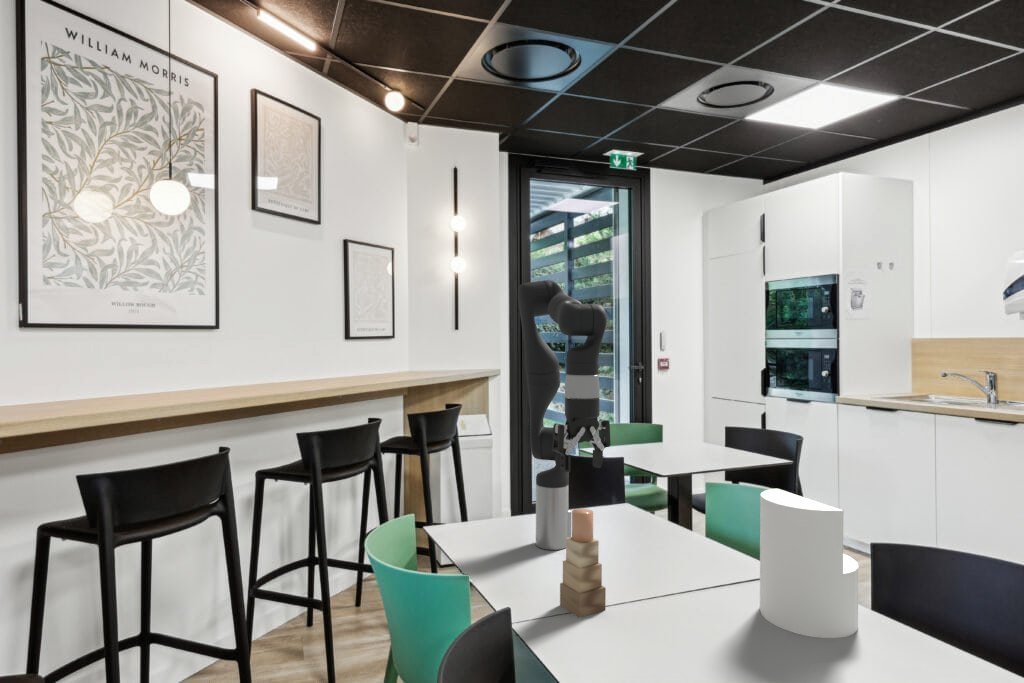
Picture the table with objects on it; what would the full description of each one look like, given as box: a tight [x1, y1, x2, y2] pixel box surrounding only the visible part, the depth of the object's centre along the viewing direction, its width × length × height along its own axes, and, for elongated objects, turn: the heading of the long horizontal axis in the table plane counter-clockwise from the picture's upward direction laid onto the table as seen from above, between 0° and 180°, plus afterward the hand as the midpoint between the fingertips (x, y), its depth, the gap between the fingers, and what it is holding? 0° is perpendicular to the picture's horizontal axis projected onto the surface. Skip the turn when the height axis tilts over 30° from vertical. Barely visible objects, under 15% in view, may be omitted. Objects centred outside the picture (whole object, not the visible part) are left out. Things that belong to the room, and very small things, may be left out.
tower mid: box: [562, 559, 603, 593], centre depth 135 cm, size 6×6×5 cm
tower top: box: [565, 536, 600, 568], centre depth 135 cm, size 5×5×5 cm
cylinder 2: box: [759, 488, 859, 639], centre depth 131 cm, size 19×19×25 cm
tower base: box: [559, 581, 606, 618], centre depth 135 cm, size 7×7×5 cm
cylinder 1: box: [571, 508, 594, 543], centre depth 135 cm, size 5×5×6 cm
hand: (581, 469), depth 136 cm, fingers open, 8 cm apart
